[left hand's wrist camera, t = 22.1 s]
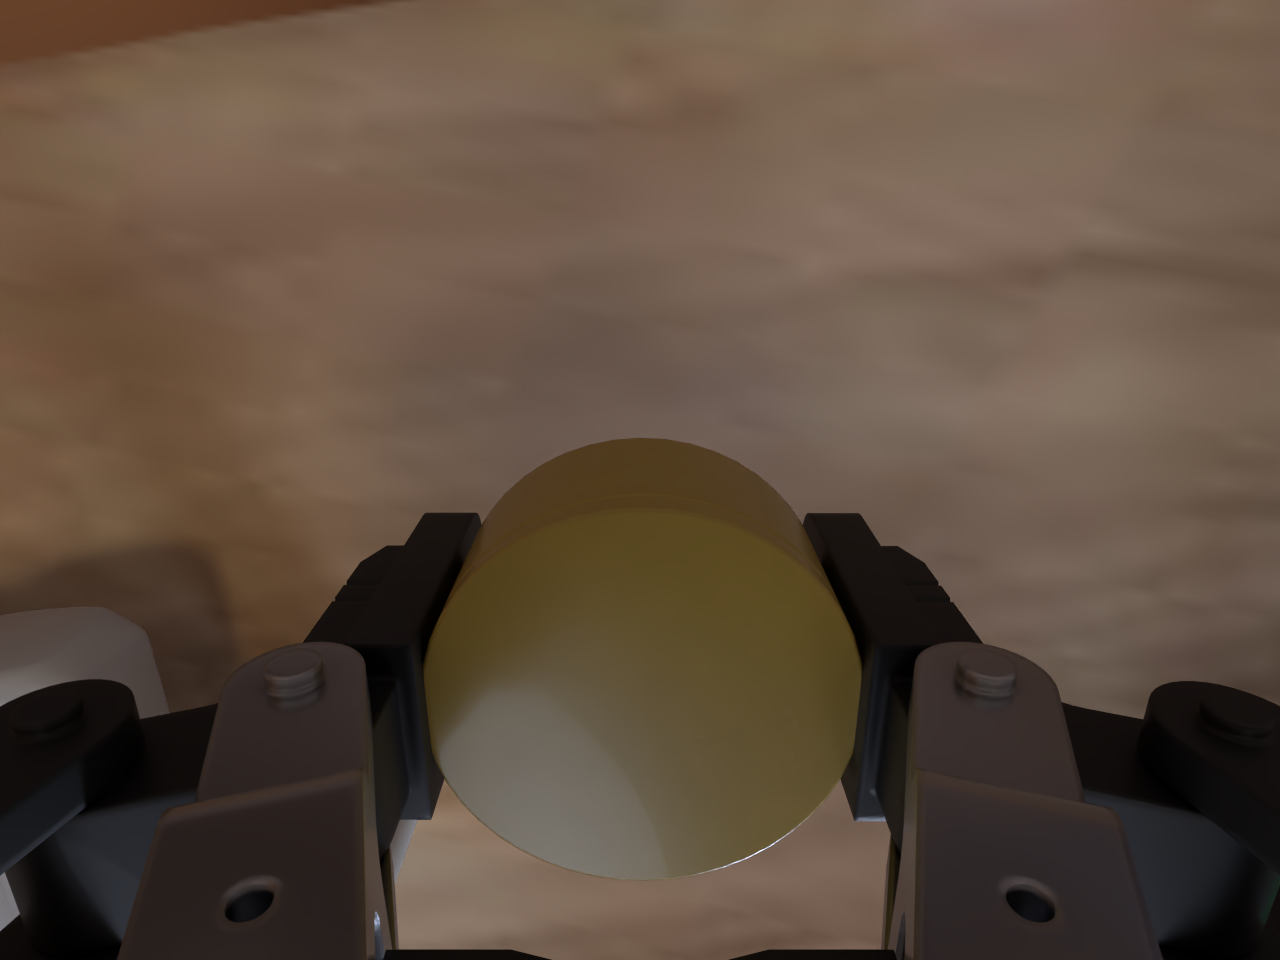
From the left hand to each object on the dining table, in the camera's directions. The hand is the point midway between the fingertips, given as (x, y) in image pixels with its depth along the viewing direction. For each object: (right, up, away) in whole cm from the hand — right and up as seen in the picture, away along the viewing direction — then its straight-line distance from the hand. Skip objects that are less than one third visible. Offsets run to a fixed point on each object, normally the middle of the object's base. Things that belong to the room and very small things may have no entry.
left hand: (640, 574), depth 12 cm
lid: (0, -1, -3) cm, 3 cm away
